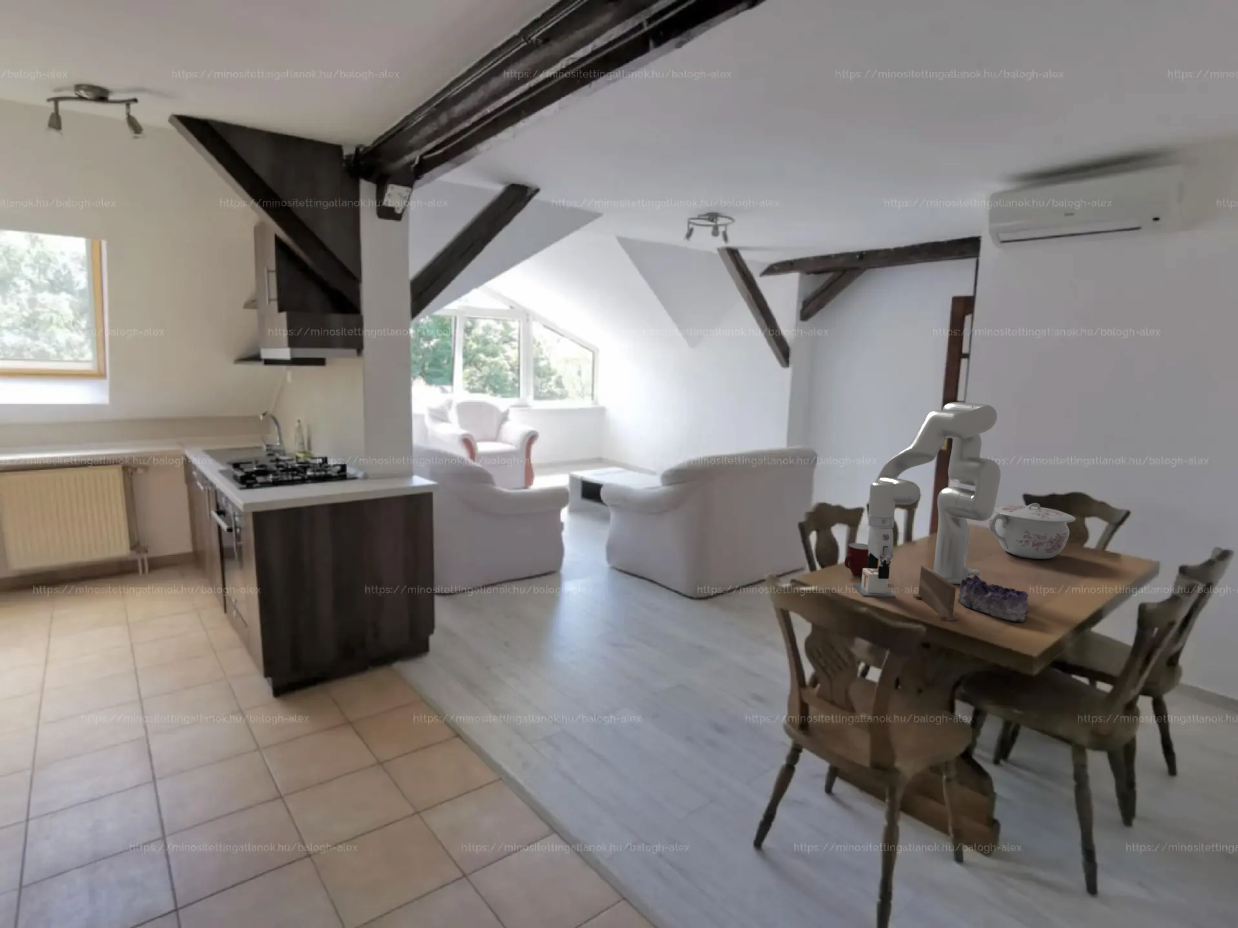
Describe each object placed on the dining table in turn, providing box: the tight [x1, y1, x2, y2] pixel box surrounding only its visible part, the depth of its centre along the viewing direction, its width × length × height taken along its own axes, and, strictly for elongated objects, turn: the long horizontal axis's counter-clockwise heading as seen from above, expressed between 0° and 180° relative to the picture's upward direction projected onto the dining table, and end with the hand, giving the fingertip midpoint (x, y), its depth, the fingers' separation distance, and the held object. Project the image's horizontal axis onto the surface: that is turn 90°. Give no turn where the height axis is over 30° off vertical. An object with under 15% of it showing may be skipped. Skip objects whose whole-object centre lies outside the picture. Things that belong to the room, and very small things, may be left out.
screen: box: [912, 565, 959, 622], centre depth 199 cm, size 5×20×10 cm, turn 178°
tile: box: [852, 583, 896, 598], centre depth 213 cm, size 10×10×1 cm
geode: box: [957, 575, 1029, 623], centre depth 199 cm, size 20×12×10 cm, turn 38°
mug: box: [844, 542, 869, 577], centre depth 230 cm, size 11×8×10 cm
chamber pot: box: [988, 502, 1076, 560], centre depth 262 cm, size 28×28×21 cm
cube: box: [861, 568, 889, 593], centre depth 213 cm, size 6×6×6 cm
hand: (877, 573), depth 213 cm, fingers open, 9 cm apart
